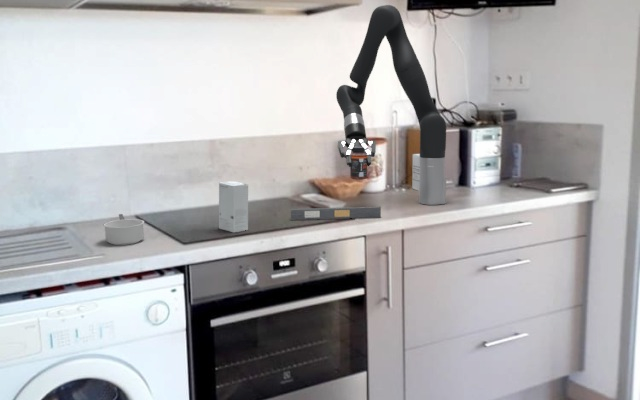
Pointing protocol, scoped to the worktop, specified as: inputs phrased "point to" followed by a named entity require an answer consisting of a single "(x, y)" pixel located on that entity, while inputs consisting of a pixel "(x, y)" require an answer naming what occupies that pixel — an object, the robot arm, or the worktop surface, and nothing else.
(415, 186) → the supplement box
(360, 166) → the supplement bottle
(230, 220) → the skincare box
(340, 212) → the price rail
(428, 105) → the robot arm
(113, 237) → the saucepan
